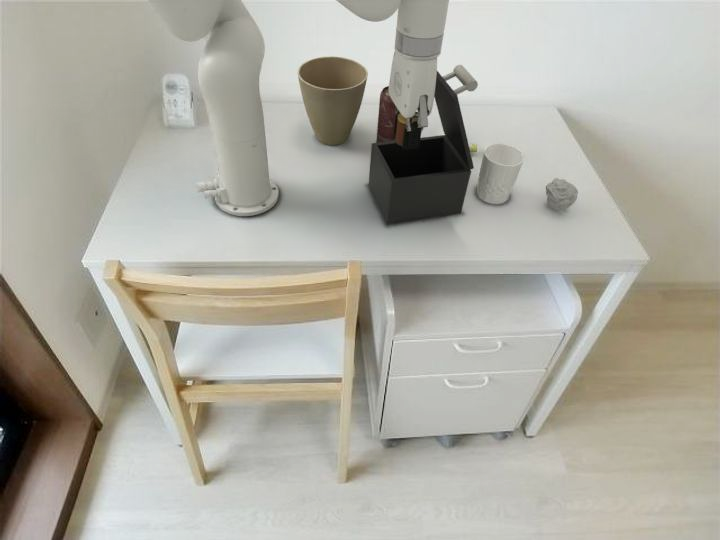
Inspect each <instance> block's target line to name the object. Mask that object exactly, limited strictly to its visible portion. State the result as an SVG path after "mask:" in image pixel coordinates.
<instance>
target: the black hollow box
mask: <svg viewBox="0 0 720 540" xmlns="http://www.w3.org/2000/svg"><path fill="white" fill-rule="evenodd" d="M370 147H371V148H370V157H369V158H370V160H369V173H368V184H367V185H368V188H369V190H370V192H371V194H372V196H373V199H374V201H375V203H376V205H377V207H378V209H379V211H380V213H381V215H382V217H383V220H384V222H385V224H386V225H387V226H389V225H396V224H403V223H409V222H416V221H420V220H421V221H423V220H428V219H435V218H440V217H447V216H448V217H449V216H454V215H455V216H456V215H461V214H462V211H463V207H464V203H465V198H466V194H467V190H468V186H469V183H470V178H471V175H472V169H471V170H470V169H469V168H468V166H467V165H466V164H465V162H464V161H463V159H462V158H461V156H460V155H459V154H458V152H457V151H456V149H455V148H454V147H453V145H452V144H451V142H450V141H449V140H448V138H447V137H446V135H445V134H442V135H432V136H425V137H424V136H423V137H421V139H420V146H419V147H418V148H414V149H406V150H404V149H403V148H402V146H400V145H398V144H397V143H396V141H388V142H379V143H376V142H372V143H371V146H370Z"/></svg>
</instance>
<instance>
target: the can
mask: <svg viewBox="0 0 720 540" xmlns="http://www.w3.org/2000/svg"><path fill="white" fill-rule="evenodd" d="M395 108H396V105H395V104H394V102H393V101H392V99H391V97H390V95H389V85H387V86H385V87H383V88H382V90H381V91H380V93H379V105H378V117H377V127H376V128H377V129H376V141H375V143H379V142H388V141H396V135H395V134H394V124H395V115H398V114H396V112H395Z"/></svg>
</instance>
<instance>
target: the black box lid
mask: <svg viewBox="0 0 720 540" xmlns="http://www.w3.org/2000/svg"><path fill="white" fill-rule="evenodd" d="M455 77H456V79H457V80H458V81H459V82H460V83H461V84H462V86H459V87H457V88H456V89H453V88H452V87H451V86H450V85H449V83H448V82H447V81H449V80H451V79H454V78H455ZM478 86H479V82H478V81H477V79H475V78H474V77H473V75H472V74H471V73H470V72H469V71H468V70H467V69H466V68H465V67H464V65H463V64H457V65H456V66H455V67H454V68H453V71H451V72H449V73H447V74H445V75H441V73H440V72H439V71H438V70H437V75H436V86H435V95H434V101H435V105H436V108H437V112H438V115H439V120H440V123H441V126H442V131H443V135H446V137H447V138H448V140H449V141H450V142H451V144H452V145H453V147H454V148H455V149H456V151H457V152H458V154H459V155H460V156H461V158H462V159H463V161H464V162H465V164H466V165H467V166H468V168H469V169H470V170H471V171H472V170H473V169H474V163H473V158H472V157H473V156H472V152H470V149H469V147H470V144H469V140H468V137H467V136H468V135H467V131H466V127H465V123H464V119H463V113H462V110H461V106H460V102H459V97H458V95H459V94H462V93H464V92H465V91H468V92H474V91H476V90H477V88H478Z"/></svg>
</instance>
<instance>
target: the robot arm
mask: <svg viewBox="0 0 720 540" xmlns="http://www.w3.org/2000/svg"><path fill="white" fill-rule="evenodd" d="M144 1H145V2H146V4H147V5H148V6H149V7H150V9H151V11H152V12H153V13H154V14H155V16H156V17H157V18H158V19H159V21H160V22H161V23H162V25H163V26H164V27H165V28H166V30H167V31H168V32H169V33H170V34H172V35H173V36H174V37H175V38H177V39H179V40H181V41H184V42H198V41H200V40H201V39H204V40H205V41H206V43H205V45H204V47H203V50H202V52H201V55H200V58H199V61H198V66H197V67H198V68H197V80H198V86H199V88H200V89H199V90H200V92H201V95H202V98H203V101H204V105H205V108H206V113H207V117H208V123H209V127H210V132H211V138H212V143H213V149H214V154H215V155H214V156H215V160H216V166H217V172H218V173H217V178H213V179H212V181H211V180H209V181H199V182H196V189H197V193H203V194H204V199H209V198H214V199H215V203H216V205H217V207H218V208H219V209H220V210H222V211H223V212H225V213H227V214H230V215H233V216H238V217H251V216H257V215H260V214H261V215H262V214H263V213H266V212H267V211H269V210H271V209H272V208H273V207H274V206H275V205H276V203H277V202H278V200H279V196H280V194H279V193H280V192H279V188H278V187H279V186H277V184H276V182H275V181H274V180H272V179H270V170H269V169H270V168H269V159H268V149H267V148H268V147H267V138H266V127H265V117H264V110H263V108H264V107H263V104H262V103H263V102H262V97H261V91H260V77H261V71H262V66H263V61H264V58H265V53H266V45H265V40H264V36H263V34H262V32H261V29H260V27H259V26H258V24H257V22H256V20H255V19H254V17H253V16H252V14H251V13H250V11H249V10H248V8H247V7H246V5H245V4H244V2H243V1H242V0H144ZM335 1H336V2H337V3H339V4H340V5H341V6H343V7H344V8H345V9H347V10H348V11H349V12H350V13H352V14H353V15H355V16H356V17H358V18H359V19H362V20H364V21H368V22H372V23H377V22H378V23H379V22H383V21H385V20H388V19H389V18H391V17H392V16H393V15H394V14H395V13H396V12H397V17H396V28H395V37H394V50H393V56H392V60H391V61H392V62H391V67H390V68H391V69H390V74H389V83H388V86H389V95H390V97H391V99H392V101H393V102H394V104H395V105H396V108H395V112H396V114H399V113H401V114H402V116H403V117H405V118H407V123H406V129H404V134H403V142H402V148H403V149H404V150H406V149H414V148H418V147H419V146H420V139H421V138H422V131H424V128H428V127H429V119H428V118H429V116H430V115H431V114H432V111H433V107H434V106H433V105H434V101H435V97H434V95H435V86H436V75H437V71H438V57H439V56H440V55H441V54H442V47H443V41H444V35H445V27H446V22H447V16H448V9H449V3H450V0H335ZM415 117H418V121H414V122H412V118H415ZM397 122H398V115H395V124H394V134H395V135H396V131H397Z"/></svg>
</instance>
